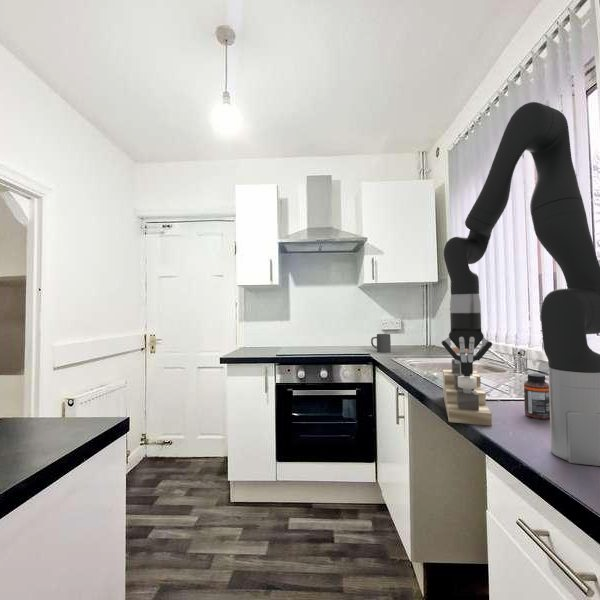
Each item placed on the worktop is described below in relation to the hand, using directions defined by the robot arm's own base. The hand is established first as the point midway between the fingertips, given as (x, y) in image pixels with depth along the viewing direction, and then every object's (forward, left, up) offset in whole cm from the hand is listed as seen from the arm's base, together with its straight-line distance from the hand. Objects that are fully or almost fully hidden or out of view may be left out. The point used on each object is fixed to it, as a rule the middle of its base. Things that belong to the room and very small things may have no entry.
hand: (466, 376), depth 98 cm
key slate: (+9, 0, -2) cm, 9 cm away
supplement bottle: (+8, -18, -12) cm, 23 cm away
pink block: (+19, 0, -1) cm, 19 cm away
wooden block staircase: (+10, 0, -11) cm, 15 cm away
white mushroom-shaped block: (0, 0, -7) cm, 7 cm away
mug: (+145, +39, -12) cm, 150 cm away
